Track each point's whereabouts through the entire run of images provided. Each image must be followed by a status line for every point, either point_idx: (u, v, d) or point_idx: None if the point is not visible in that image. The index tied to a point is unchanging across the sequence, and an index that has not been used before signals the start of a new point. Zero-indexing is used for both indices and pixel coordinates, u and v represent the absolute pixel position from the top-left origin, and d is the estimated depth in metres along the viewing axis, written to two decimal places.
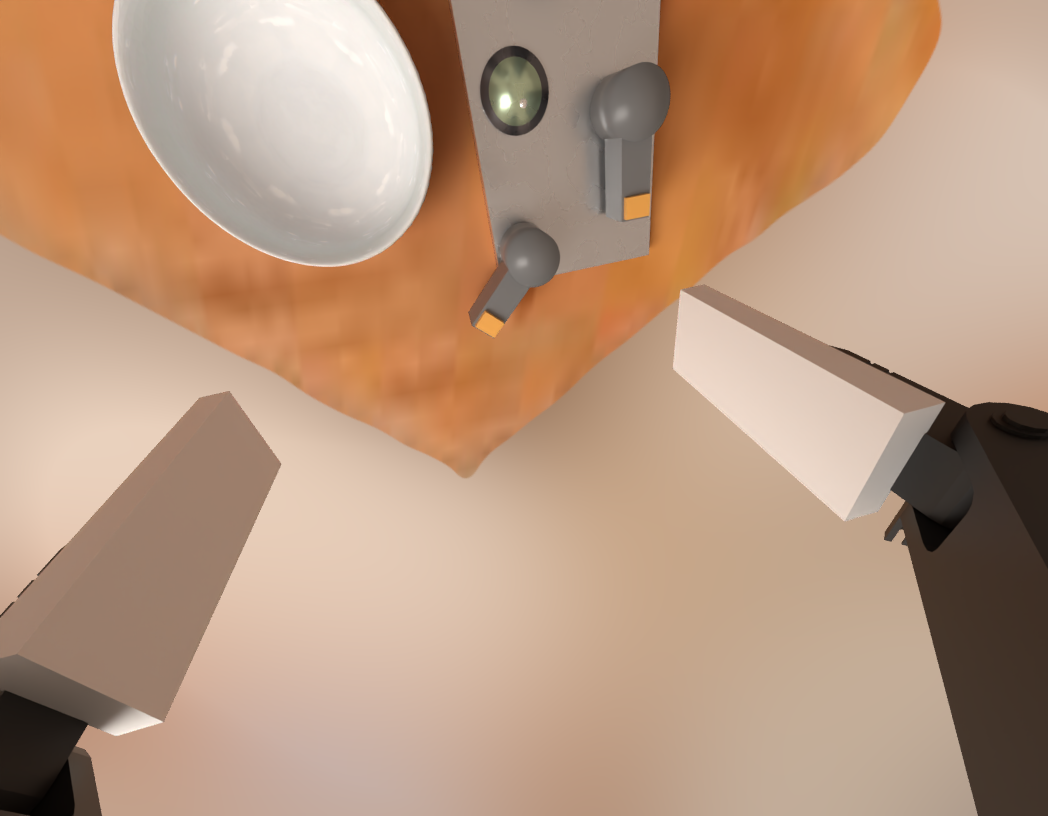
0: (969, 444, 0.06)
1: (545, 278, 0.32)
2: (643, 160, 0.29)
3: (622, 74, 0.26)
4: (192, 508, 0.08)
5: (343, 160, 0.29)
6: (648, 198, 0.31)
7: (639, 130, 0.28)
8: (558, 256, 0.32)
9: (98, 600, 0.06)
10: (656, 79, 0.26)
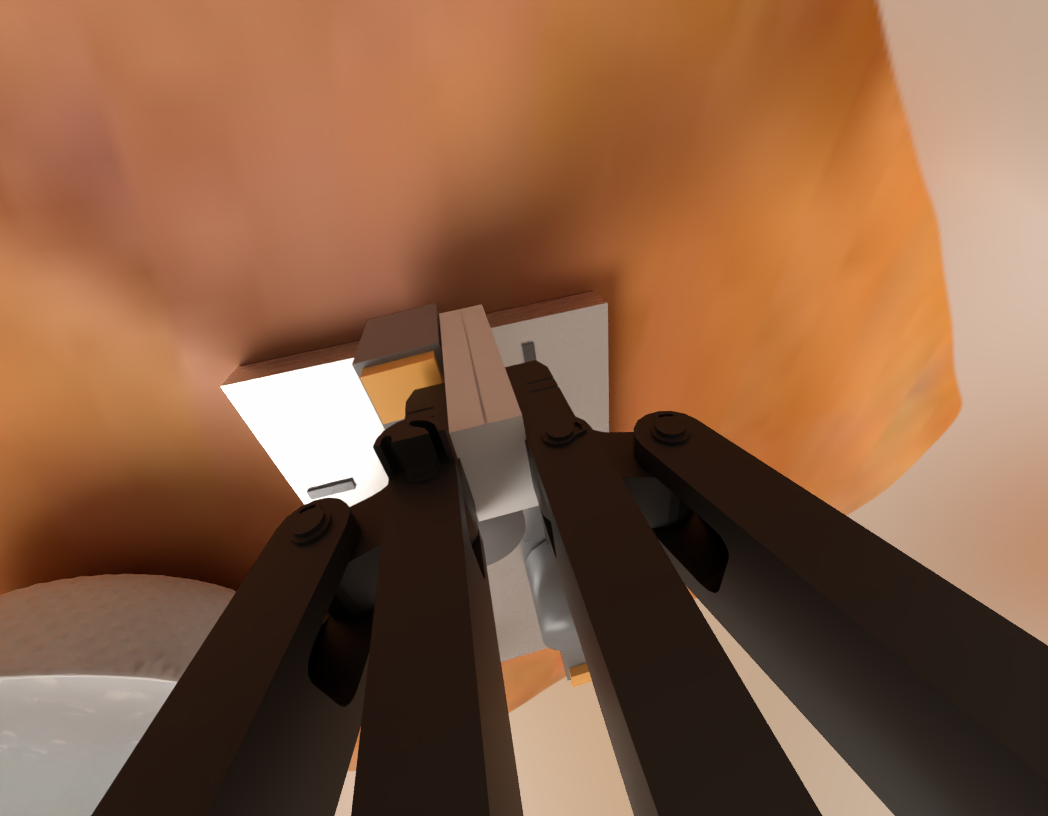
0: (535, 465, 0.07)
1: None
2: None
3: (554, 616, 0.20)
4: None
5: None
6: None
7: None
8: None
9: None
10: None
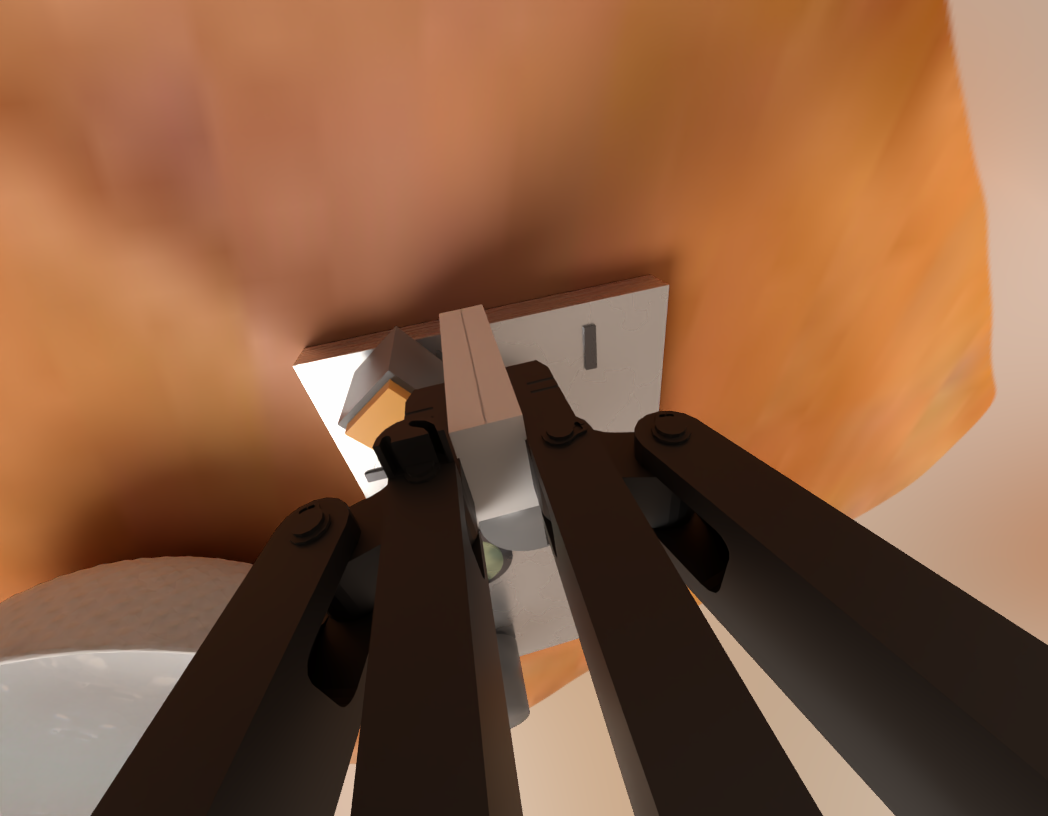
0: (535, 464, 0.07)
1: (512, 725, 0.26)
2: None
3: None
4: None
5: None
6: None
7: None
8: (527, 711, 0.25)
9: None
10: None
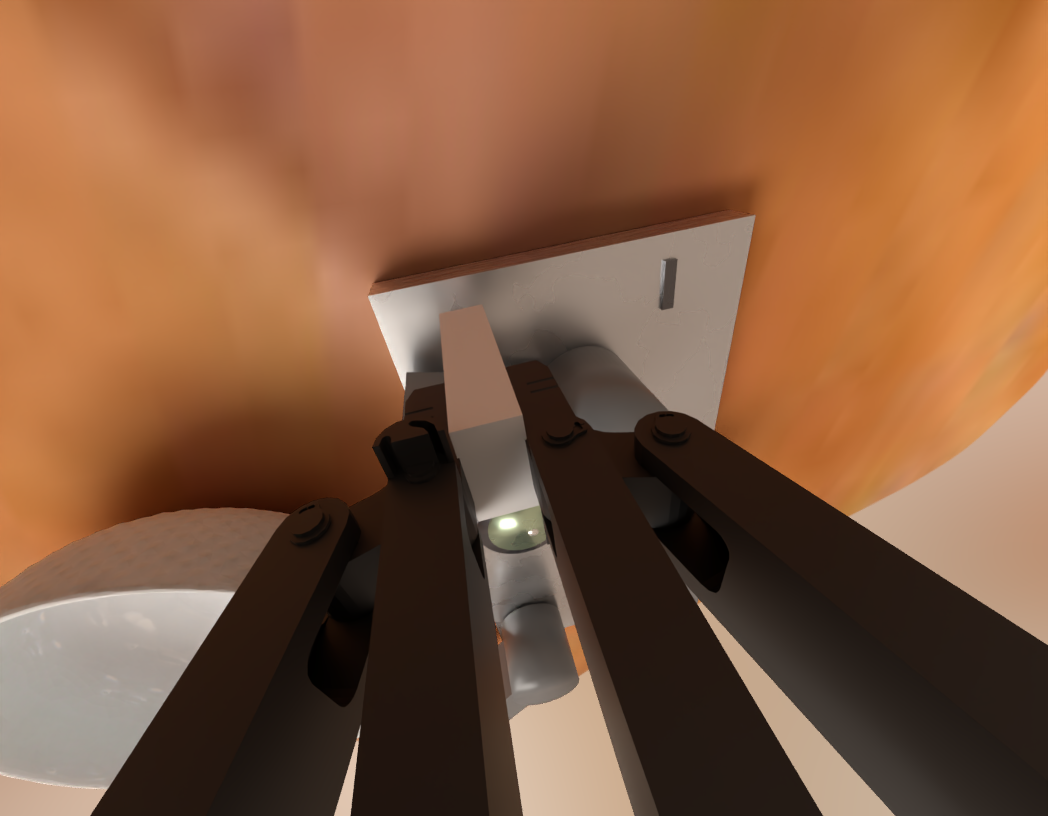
0: (535, 465, 0.07)
1: (559, 695, 0.25)
2: None
3: None
4: None
5: None
6: None
7: None
8: (577, 680, 0.25)
9: None
10: None
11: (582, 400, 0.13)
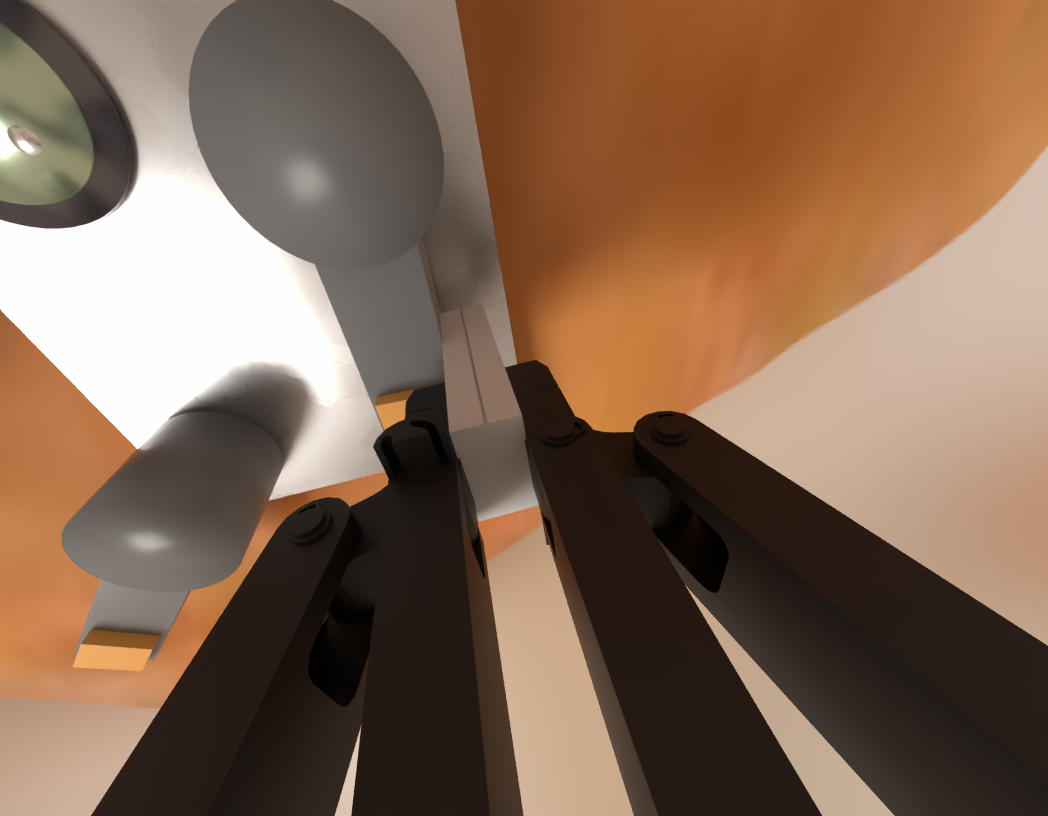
0: (534, 466, 0.07)
1: (217, 572, 0.13)
2: (408, 311, 0.10)
3: (208, 38, 0.06)
4: None
5: None
6: None
7: (353, 238, 0.08)
8: (230, 534, 0.12)
9: None
10: (364, 67, 0.07)
11: None
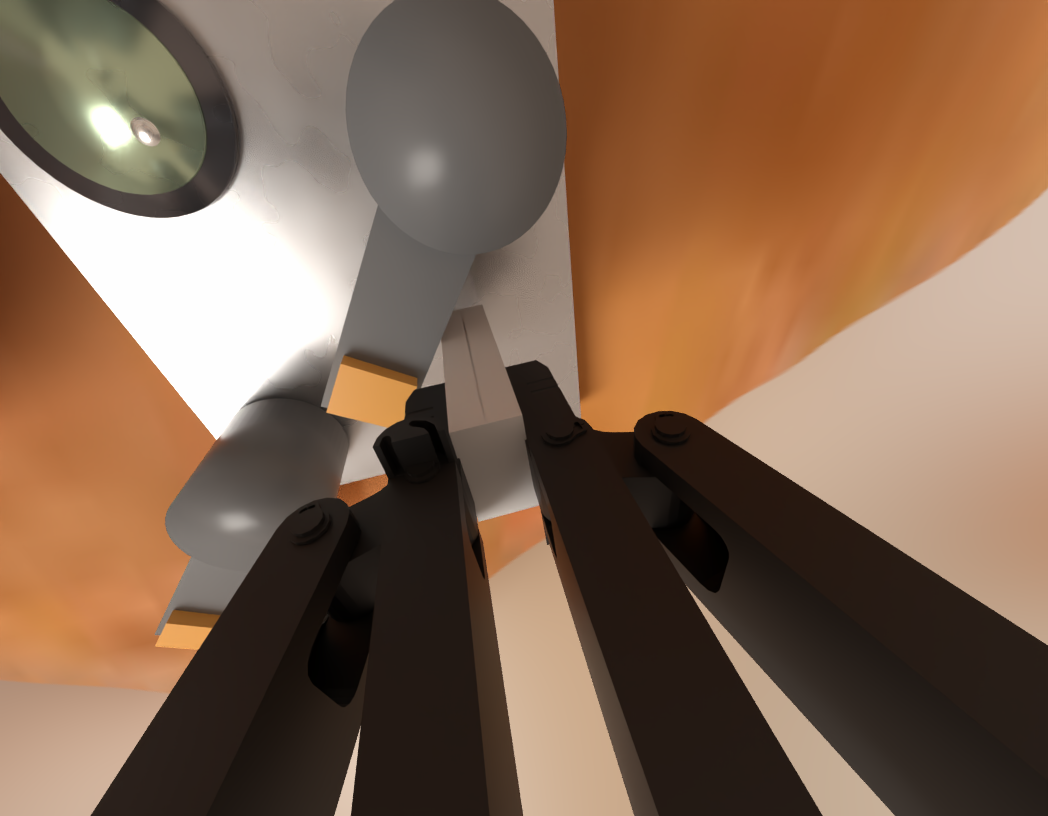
0: (534, 465, 0.07)
1: None
2: (430, 300, 0.10)
3: None
4: None
5: None
6: (408, 394, 0.11)
7: (433, 215, 0.08)
8: None
9: None
10: (534, 109, 0.08)
11: None
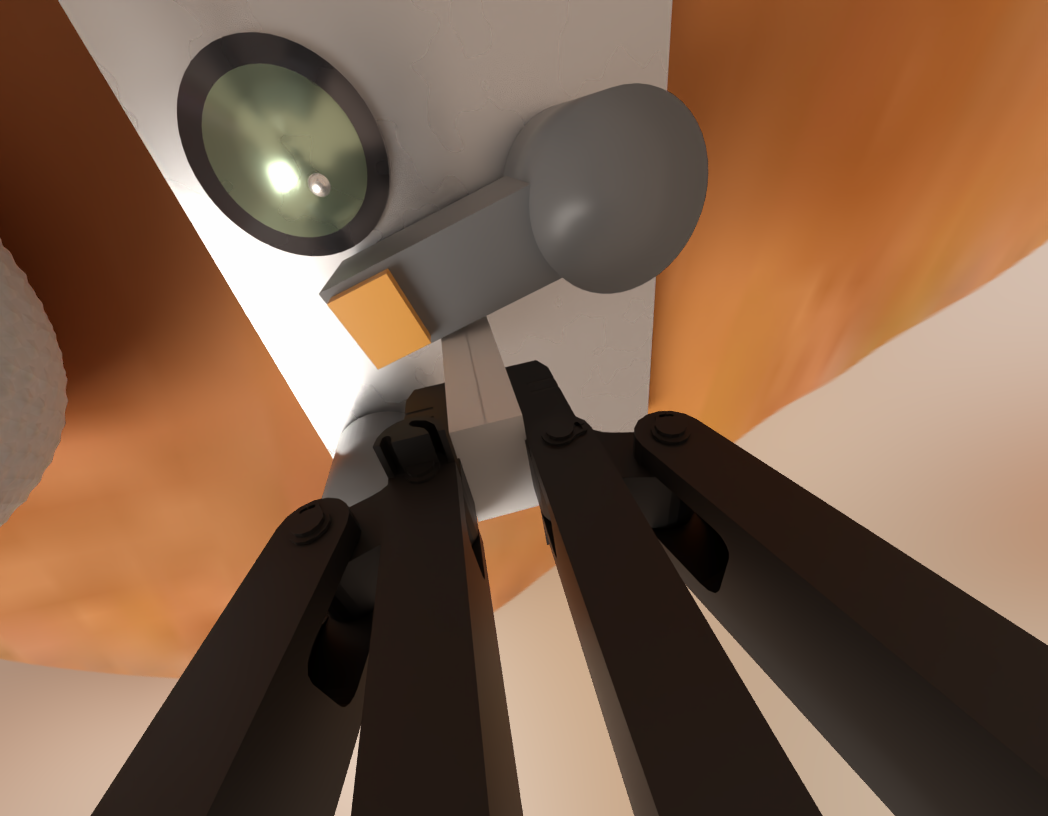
0: (535, 465, 0.07)
1: None
2: (498, 283, 0.10)
3: None
4: None
5: None
6: (417, 344, 0.10)
7: (563, 229, 0.09)
8: None
9: None
10: (674, 225, 0.10)
11: None
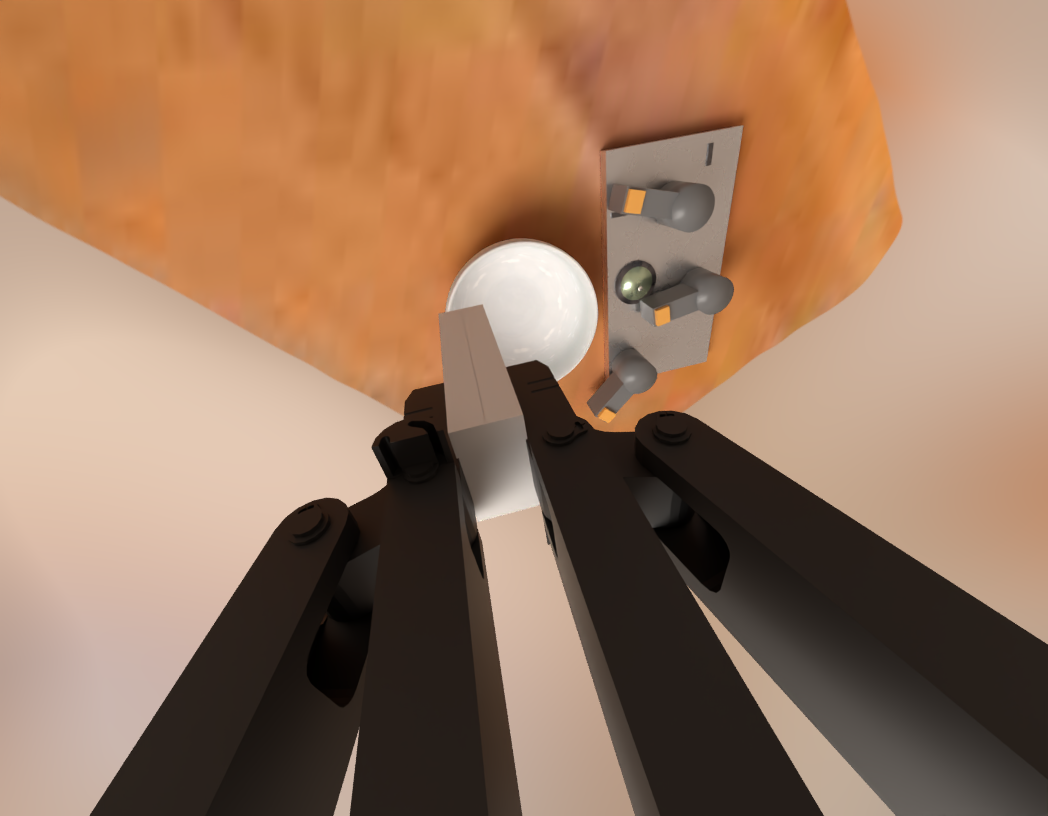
0: (536, 465, 0.07)
1: (646, 388, 0.50)
2: (686, 310, 0.45)
3: (729, 280, 0.44)
4: None
5: (527, 321, 0.47)
6: (667, 321, 0.45)
7: (703, 300, 0.45)
8: (656, 376, 0.49)
9: None
10: (725, 301, 0.45)
11: (681, 188, 0.38)
